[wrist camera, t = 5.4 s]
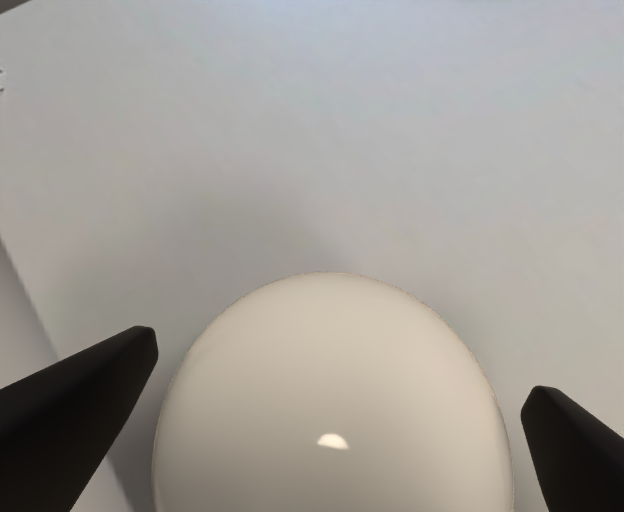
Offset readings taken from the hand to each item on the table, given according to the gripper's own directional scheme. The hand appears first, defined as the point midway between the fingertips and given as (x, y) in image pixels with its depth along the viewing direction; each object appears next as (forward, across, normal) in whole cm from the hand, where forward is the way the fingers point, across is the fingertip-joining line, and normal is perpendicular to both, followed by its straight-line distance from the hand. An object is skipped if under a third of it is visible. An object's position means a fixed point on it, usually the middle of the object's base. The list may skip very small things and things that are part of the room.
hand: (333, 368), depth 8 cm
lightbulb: (+4, 0, +6) cm, 7 cm away
